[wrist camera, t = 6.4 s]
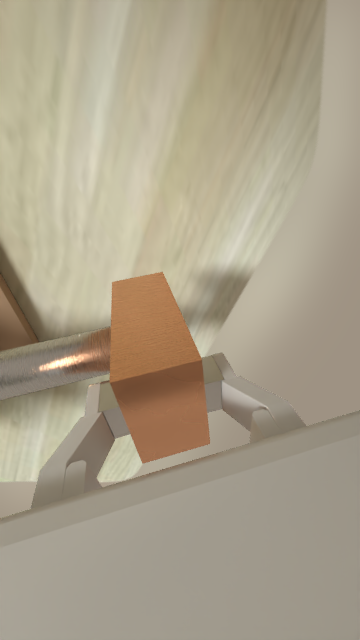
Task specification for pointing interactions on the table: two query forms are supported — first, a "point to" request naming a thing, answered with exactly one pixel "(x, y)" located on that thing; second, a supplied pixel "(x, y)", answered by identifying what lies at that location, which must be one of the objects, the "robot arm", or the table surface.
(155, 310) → the shaft
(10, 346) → the block
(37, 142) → the table surface
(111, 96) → the table surface
